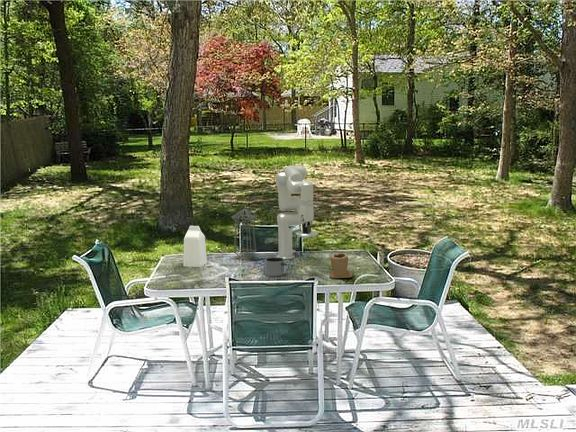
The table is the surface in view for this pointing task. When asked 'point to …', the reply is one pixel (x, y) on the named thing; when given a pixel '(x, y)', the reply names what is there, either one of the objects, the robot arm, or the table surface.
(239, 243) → the geometric lantern
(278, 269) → the pot
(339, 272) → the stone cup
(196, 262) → the milk
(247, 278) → the table surface
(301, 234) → the lid
